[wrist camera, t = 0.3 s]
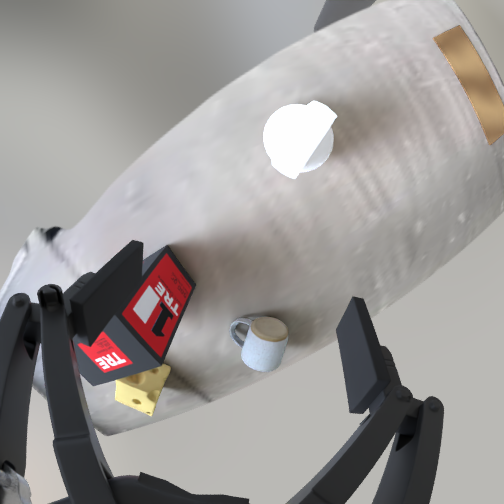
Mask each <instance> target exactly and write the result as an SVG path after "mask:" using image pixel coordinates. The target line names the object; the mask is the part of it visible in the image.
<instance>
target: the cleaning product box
mask: <svg viewBox="0 0 504 504" xmlns="http://www.w3.org/2000/svg"><path fill="white" fill-rule="evenodd" d="M195 287H196V284H195V283H194V282H193V280H192V279H191V277H190V276H189V275H188V273H187V272H186V271H185V269H184V268H183V267H182V265H181V264H180V262H179V261H178V260H177V258H176V257H175V255H174V254H173V253H172V251H171V250H170V248H169V247H168V246H167V245H166V246H165V247H163V248H161V249H160V250H158V251H157V252H155V253H153V254H152V255H150V256H149V257H147V258H146V259H144V260H143V263H142V281H141V282H140V283H139V284H138V286H137V287H136V288H135V289H134V291H133V292H132V293H131V295H130V296H129V297H128V298H127V300H126V301H125V302H124V303H123V305H122V306H121V307H120V309H119V310H118V311H117V312H116V314H115V315H114V316H113V318H112V319H111V320H110V322H109V323H108V324H107V326H106V327H105V328H104V330H103V331H102V332H101V334H100V335H99V336H98V338H97V339H96V341H95V342H94V343H93V345H92V346H91V347H89V346H86V345H84V344H82V343H80V342H78V338H77V334H76V335H75V336H74V338H73V342H74V348H75V353H76V359H77V364H78V369H79V373H80V374H81V375H82V376H83V377H84V378H85V379H86V380H87V381H88V382H89V383H90V384H91V385H92V386H96V385H100V384H103V383H107V382H110V381H114V380H118V379H121V378H124V377H128V376H131V375H135V374H138V373H141V372H144V371H148V370H151V369H154V368H157V367H160V366H162V364H163V362H164V359H165V357H166V354H167V352H168V350H169V347H170V345H171V342H172V340H173V338H174V335H175V333H176V330H177V328H178V326H179V323H180V321H181V319H182V316H183V314H184V312H185V309H186V307H187V305H188V303H189V300H190V298H191V296H192V293H193V291H194V289H195Z"/></svg>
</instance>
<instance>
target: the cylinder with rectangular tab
mask: <svg viewBox="0 0 504 504" xmlns="http://www.w3.org/2000/svg"><path fill="white" fill-rule="evenodd" d="M336 117H337V115H336V114H335V113H334V112H333V111H332V110H331V109H330V108H328V107H327V106H326V105H324V104H322V103H320V102H318V101H312V102H311V103H309V104H308V105H302V104H292V105H288V106H285V107H282V108H280V109H279V110H277V111H276V112H274V114H273V115H272V116H271V117H270V118H269V119H268V122H267V124H266V126H265V129H264V135H263V139H264V146H265V149H266V151H267V154H268V155H269V156H270V158H271V162H272V165H273V167H274V168H276V169H277V170H278V171H279V172H281V173H282V174H284V175H286V176H288V177H290V178H293V179H296V177H297V176H298V174H299V173H300V172H308V171H311V170H314V169H316V168H317V167H319V166H320V165H322V164H323V163H324V162H325V161H326V160H327V159H328V157H329V155H330V153H331V151H332V148H333V143H334V137H333V131H332V128H331V125H332V123H333V122H334V120H335V119H336Z"/></svg>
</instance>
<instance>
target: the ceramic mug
mask: <svg viewBox="0 0 504 504" xmlns="http://www.w3.org/2000/svg"><path fill="white" fill-rule="evenodd" d="M238 322H240V323H245V324H247V325H249V326H250V327H249V329H248V333H247V337H246V340H245V342H244V341H242V340H241V339H240V338H239V337H238V336H237V335H236V333H235V328H236V325H238ZM229 332H230V336H231V338H232V339H233V341H234V342H235V343H236V344H237V345H239V346H240V347H242V353H241V357H242V359H243V361H244V363H245V364H246V365H247V366H249V367H250V368H252V369H254V370H257V371H261V372H270V371H273V370H275V369H276V368H278V367H279V365H280V363H281V360H282V357H283V354H284V351H285V347H286V344H287V341H288V335H289V332H288V328H287V327H286V325H285V324H284V323H283V322H281V321H280V320H278V319H276V318H272V317H260V318H257V319H255V320H254V321H251V320H250V319H247V318H238V319H236V320H235V321H234V322H233V323H232V324H231V326H230V331H229Z"/></svg>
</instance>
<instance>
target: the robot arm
mask: <svg viewBox="0 0 504 504" xmlns="http://www.w3.org/2000/svg"><path fill="white" fill-rule="evenodd" d="M142 263H143V243H142V242H139V241H135V240H132V241H131V242H130V243H129V244H127V245H126V246H125V247H124V248H123V249H122V250H121V251H120V252H118V253H117V254H116V255H115V256H114V257H113V258H112V259H111V260H110V261H109V262H107V263H106V264H105V265H104V266H103V267H102V268H101V269H100V270H99V271H98V272H97V273H96V274H95V273H92V272H89V273H86V274H84V275H82V276H81V277H80V278H79V279H78V280H77V281H76V282H75V283H74V284H73V285H71V286H70V287H69V288H68V289H67V290H66V291H65V292H64V293H62V289H61V288H60V287H59V286H58V285H55V284H48V285H45V286H43V287H41V288H40V289H39V290H38V293H37V295H38V300H39V304H37V303H31V301H30V298H29V296H28V295H27V294H25V293H17V294H15V295H13V296H12V297H11V298H10V299H9V301H8V303H7V305H6V307H5V310H4V312H3V314H2V317H1V319H0V504H32V503H31V499H30V497H31V492H30V487H29V484H28V482H27V481H26V480H25V478H24V475H25V468H26V443H27V442H26V441H27V424H28V414H29V404H30V396H31V389H32V382H33V376H34V371H35V365H36V360H37V355H38V351H39V346H40V343H41V347H42V361H43V372H44V380H45V388H46V395H47V402H48V407H49V413H50V418H51V423H52V428H53V432H54V437H55V439H54V440H53V447H54V452H55V456H56V459H57V463H58V466H59V469H60V472H61V476H62V478H63V482H64V484H65V487H66V490H67V493H68V497H66V498H63V499H60V500H58V501H55V502H52V503H49V504H249V499H246V498H239V497H233V496H228V495H196V494H191V493H189V492H187V491H185V490H183V489H181V488H179V487H177V486H175V485H174V484H172V483H169V482H168V481H166V480H163V479H160V478H156V477H154V476H150V475H148V474H145V473H142V472H140V475H139V476H132V475H126V476H118V477H113V474H112V472H111V470H110V468H109V466H108V464H107V462H106V459H105V457H104V455H103V452H102V449H101V447H100V444H99V441H98V438H97V435H96V432H95V429H94V426H93V423H92V420H91V416H90V413H89V409H88V406H87V402H86V398H85V395H84V391H83V387H82V382H81V378H80V373H79V369H78V364H77V359H76V353H75V348H74V342H73V338H74V336H75V335H76V334H77V338H78V342H80V343H82V344H84V345H86V346H89V347H91V346H92V345H93V343H94V342H95V341H96V339H97V338H98V336H99V335H100V334H101V332H102V331H103V330H104V328H105V327H106V326H107V324H108V323H109V322H110V320H111V319H112V318H113V316H114V315H115V314H116V312H117V311H118V310H119V309H120V307H121V306H122V305H123V303H124V302H125V301H126V300H127V298H128V297H129V296H130V295H131V293H132V292H133V291H134V289H135V288H136V287H137V286H138V284H139V283H140V282H141V281H142ZM336 332H337V338H338V343H339V349H340V354H341V359H342V365H343V372H344V378H345V384H346V391H347V397H348V403H349V412H350V413H357V414H363V413H364V412H365V411H366V410H367V409H368V408H369V412H370V414H369V415H368V416H367V417H366V418H365V419H364V420H363V421H362V422H361V423H360V426H359V427H358V429H357V430H356V431H355V432H354V434H353V435H352V436H351V437H350V438H349V440H348V441H347V442H346V443H345V444H344V445H343V447H342V448H341V449H340V450H339V451H338V452H337V453H336V455H335V456H334V457H333V458H332V459H331V460H330V461H329V462H328V463H327V464H326V465H325V467H323V469H322V470H321V471H320V472H319V473H318V474H317V475H316V476H315V477H314V478H313V479H312V480H311V481H310V482H309V483H308V484H307V485H306V486H304V487H303V489H301V490H300V491H299V492H298V493H297V494H296V495H295V496H294V497H292V498H291V499H290V500H289V501H288V502H287V503H286V504H345V503H346V502H347V500H348V499H349V498H350V497H351V496H352V494H353V493H354V492H355V491H356V489H357V488H358V487H359V485H360V484H361V483H362V482H363V480H364V479H365V478H366V476H367V475H368V473H369V472H370V471H371V469H372V468H373V466H374V465H375V463H376V462H377V461H378V459H379V458H380V456H381V455H382V453H383V452H384V450H385V449H386V447H387V446H388V444H389V442H390V441H391V439H392V437H393V436H394V434H395V433H396V434H395V438H394V442H393V445H392V449H391V452H390V455H389V458H388V462H387V465H386V468H385V471H384V474H383V476H382V479H381V482H380V485H379V488H378V490H377V492H376V495H375V498H374V500H373V502H372V504H429V502H430V498H431V494H432V490H433V486H434V481H435V476H436V471H437V465H438V459H439V453H440V446H441V438H442V429H443V417H444V406H443V404H442V402H441V401H440V400H439V399H438V398H436V397H433V396H431V397H428V398H427V399H426V400H425V401H421V400H417V399H415V398H413V395H412V393H411V392H410V390H409V389H408V388H406V387H404V386H402V385H401V381H400V378H399V375H398V372H397V369H396V367H395V363H394V362H393V357H392V354H391V353H390V351H389V350H388V349H387V348H386V347H385V346H380V344H379V341H378V338H377V335H376V332H375V329H374V326H373V323H372V321H371V318H370V315H369V312H368V310H367V307H366V304H365V302H364V299H362V298H358V297H352V299H351V301H350V303H349V305H348V307H347V309H346V311H345V313H344V315H343V317H342V319H341V321H340V323H339V325H338V327H337V329H336Z"/></svg>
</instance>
